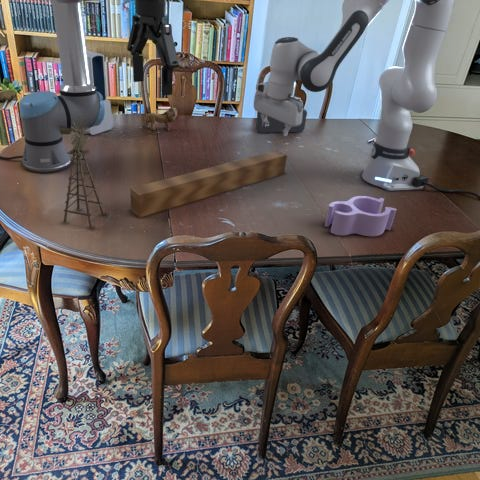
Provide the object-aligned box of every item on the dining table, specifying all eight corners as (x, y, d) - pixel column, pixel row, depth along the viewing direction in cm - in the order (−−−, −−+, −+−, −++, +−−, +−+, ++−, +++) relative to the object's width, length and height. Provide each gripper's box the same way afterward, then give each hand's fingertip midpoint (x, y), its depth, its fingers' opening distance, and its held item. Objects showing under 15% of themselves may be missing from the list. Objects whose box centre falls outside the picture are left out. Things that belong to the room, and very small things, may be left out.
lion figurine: (175, 126, 202) (175, 105, 197) (178, 130, 198) (178, 109, 193) (141, 127, 197) (140, 106, 192) (143, 131, 193) (143, 110, 188)
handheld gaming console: (301, 129, 213) (305, 108, 208) (304, 131, 211) (308, 110, 205) (254, 131, 206) (257, 108, 200) (257, 133, 204) (259, 110, 198)
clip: (337, 240, 135) (342, 219, 131) (318, 218, 145) (322, 198, 141) (395, 233, 141) (402, 213, 137) (373, 213, 151) (378, 194, 147)
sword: (405, 131, 224) (406, 128, 224) (410, 133, 222) (411, 130, 222) (362, 142, 208) (362, 140, 208) (367, 144, 206) (368, 142, 206)
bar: (139, 217, 136) (139, 195, 132) (131, 210, 139) (130, 188, 135) (284, 173, 171) (287, 154, 167) (274, 168, 174) (277, 150, 170)
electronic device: (90, 136, 184) (84, 56, 167) (77, 131, 187) (69, 52, 170) (113, 128, 193) (109, 52, 177) (100, 123, 196) (95, 48, 180)
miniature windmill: (90, 229, 128) (80, 122, 112) (62, 223, 129) (47, 117, 113) (105, 213, 136) (97, 111, 119) (78, 208, 137) (67, 106, 120)
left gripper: (195, 5, 105) (192, 99, 117) (137, -10, 120) (139, 74, 132) (167, 5, 101) (167, 102, 112) (110, -11, 116) (115, 77, 127)
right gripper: (310, 98, 149) (303, 139, 156) (266, 81, 161) (261, 120, 169) (296, 100, 145) (290, 142, 152) (252, 83, 157) (248, 123, 165)
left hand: (152, 88), depth 122 cm, fingers open, 13 cm apart
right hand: (274, 130), depth 161 cm, fingers open, 8 cm apart
